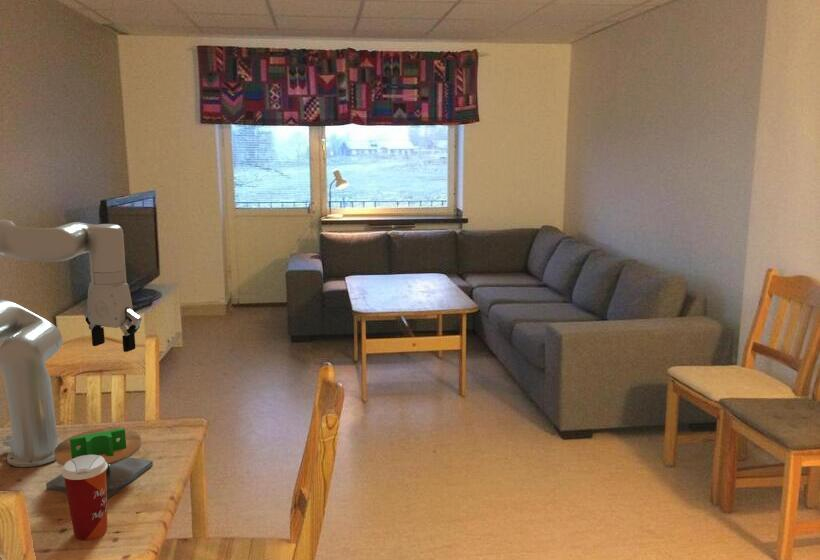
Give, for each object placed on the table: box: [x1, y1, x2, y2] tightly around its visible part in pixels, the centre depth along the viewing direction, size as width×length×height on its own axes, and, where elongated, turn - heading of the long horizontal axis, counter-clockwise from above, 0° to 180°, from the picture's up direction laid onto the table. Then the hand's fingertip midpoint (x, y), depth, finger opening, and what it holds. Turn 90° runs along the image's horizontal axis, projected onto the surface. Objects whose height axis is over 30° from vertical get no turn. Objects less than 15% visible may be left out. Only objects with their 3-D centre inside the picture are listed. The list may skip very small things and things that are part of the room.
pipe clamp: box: [69, 427, 126, 459], centre depth 154 cm, size 11×4×5 cm, turn 120°
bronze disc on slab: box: [45, 427, 154, 500], centre depth 160 cm, size 18×18×10 cm
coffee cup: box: [61, 455, 108, 541], centre depth 138 cm, size 8×8×15 cm
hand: (113, 347), depth 167 cm, fingers open, 9 cm apart
